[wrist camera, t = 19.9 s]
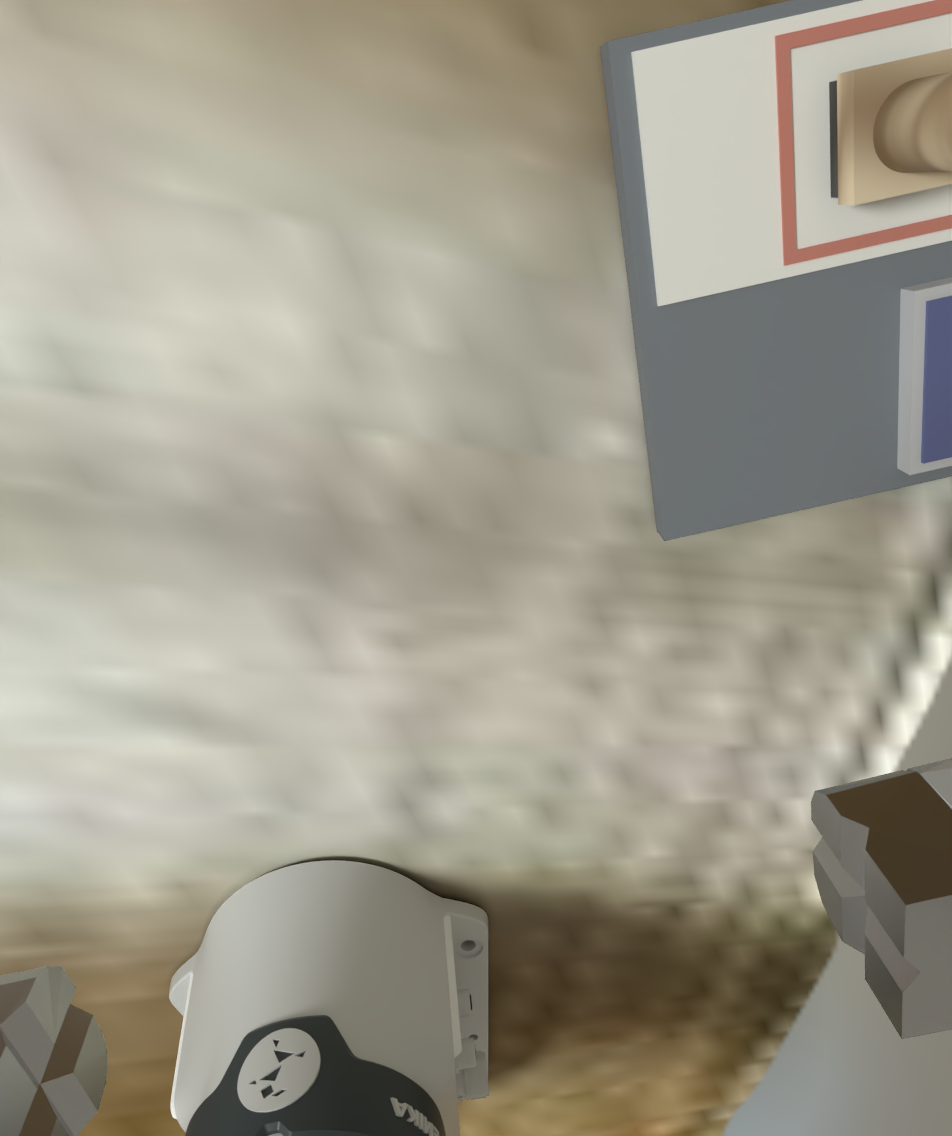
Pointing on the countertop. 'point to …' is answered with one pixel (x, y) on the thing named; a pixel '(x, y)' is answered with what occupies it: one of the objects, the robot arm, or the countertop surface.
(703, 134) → the stamping board
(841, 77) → the stamp
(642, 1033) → the countertop surface
